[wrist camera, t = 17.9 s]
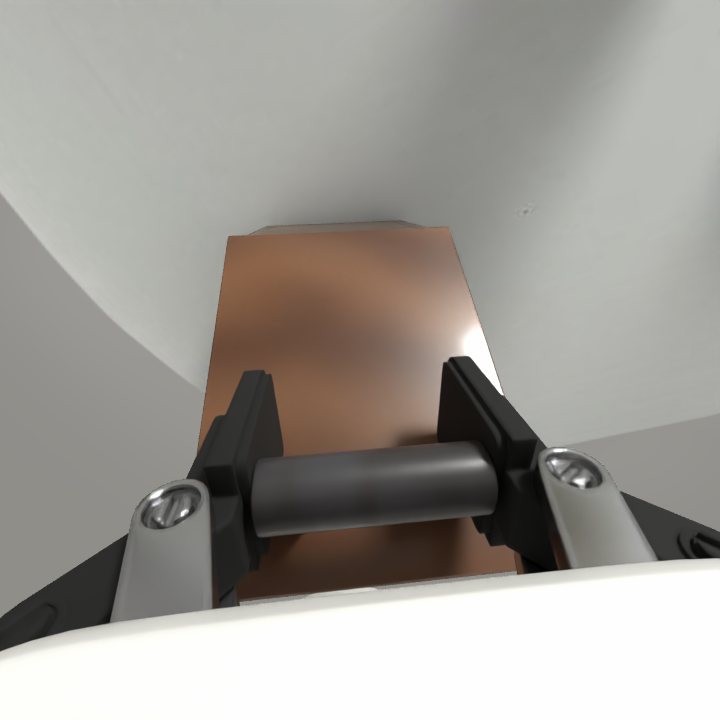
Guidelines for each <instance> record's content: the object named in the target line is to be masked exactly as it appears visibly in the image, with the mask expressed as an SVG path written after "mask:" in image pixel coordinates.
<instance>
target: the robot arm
mask: <svg viewBox="0 0 720 720" xmlns="http://www.w3.org/2000/svg"><path fill="white" fill-rule="evenodd" d="M437 439H438V442H439V443H447V442H459V441H471V440H476V441H479V442H481V443H482V444H483V445H484V446H485V447H486V449H487V451H488V452H489V454H490V457H491V459H492V462H493V465H494V468H495V472H496V477H497V483H498V503H497V507H496V510H495V511H494V512H493V513H492V514H490V515H483V516H473V517H471V519H472V521H473V523H474V525H475V528H476V530H477V532H478V533H480V534H483V533H484V534H485V536H486V539H487V541H488V543H489V545H490V547H493V546H502V545H506V546H507V547H508V548H510V549H512V550H514V560H515V565H516V571H517V575H513V576H504V577H494V578H485V579H475V580H467V581H457V582H449V583H439V584H430V585H421V586H412V587H403V588H394V589H385V590H376V591H367V592H358V593H349V594H340V595H331V596H323V597H314V598H306V599H297V600H288V601H280V602H271V603H263V604H254V605H246V606H240V605H239V593H238V584H237V583H238V582H239V581H240V580H241V579H242V578H243V577H244V576H246V575H247V574H248V572H254V571H259V566H260V560H261V556H267V555H268V553H269V549H270V542H271V537H263V538H260V537H257V536H256V534H255V532H254V529H253V525H252V520H251V511H250V490H251V480H252V475H253V470H254V467H255V464H256V462H257V461H258V460H259V459H261V458H271V457H283V455H284V446H283V439H282V433H281V427H280V421H279V415H278V409H277V403H276V396H275V390H274V384H273V378H272V375H271V374H265V371H264V369H263V370H248V371H244V372H243V374H242V377H241V379H240V381H239V384H238V386H237V388H236V391H235V393H234V395H233V398H232V400H231V403H230V405H229V407H228V410H227V412H226V414H225V415H218V416H216V417H215V418H214V420H213V422H212V424H211V426H210V428H209V431H208V433H207V435H206V437H205V439H204V441H203V443H202V446H201V448H200V450H199V452H198V454H197V456H196V458H195V461H194V463H193V465H192V467H191V470H190V471H189V473H188V476H187V478H186V479H182V480H176V481H172V482H170V483H167V484H165V485H162V486H160V487H159V488H157V489H155V490H153V491H152V492H151V493H150V494H148V495H147V496H146V497H145V498H144V499H143V500H142V501H141V502H140V503H139V505H138V506H137V507H136V509H135V511H134V514H133V516H132V520H131V524H130V529H129V533H128V534H126V535H125V536H123V537H122V538H120V539H119V540H117V541H115V542H114V543H112V544H111V545H109V546H108V547H106V548H105V549H103V550H102V551H100V552H98V553H97V554H95V555H94V556H92V557H91V558H89V559H88V560H86V561H85V562H83V563H81V564H80V565H78V566H77V567H75V568H74V569H72V570H71V571H69V572H67V573H66V574H64V575H63V576H61V577H60V578H58V579H57V580H55V581H53V582H52V583H50V584H49V585H47V586H46V587H44V588H43V589H41V590H39V591H38V592H36V593H35V594H33V595H32V596H30V597H29V598H27V599H26V600H24V601H22V602H21V603H19V604H18V605H17V606H15V607H14V608H13V609H11V610H10V611H9V612H7V613H6V614H5V615H3V616H2V617H1V618H0V720H720V532H718V531H716V530H714V529H712V528H709V527H707V526H704V525H702V524H699V523H697V522H695V521H692V520H689V519H687V518H685V517H682V516H680V515H677V514H675V513H672V512H670V511H667V510H665V509H663V508H660V507H658V506H655V505H653V504H650V503H648V502H646V501H643V500H641V499H638V498H636V497H633V496H631V495H629V494H626V493H624V492H621V491H619V489H618V487H617V485H616V484H615V482H614V480H613V478H612V477H611V475H610V473H609V472H608V470H607V469H606V468H605V467H604V465H602V464H601V463H600V462H599V461H597V460H596V459H595V458H593V457H591V456H589V455H587V454H586V453H583V452H581V451H578V450H575V449H571V448H566V447H552V448H547V447H546V446H545V445H544V443H543V442H542V441H541V440H540V439H539V437H538V436H537V435H536V434H535V433H534V431H533V430H532V429H531V428H530V427H529V425H528V424H527V423H526V422H525V421H524V419H523V418H522V417H521V416H520V415H519V413H518V412H517V411H516V410H515V409H514V407H513V406H512V405H511V404H510V403H509V401H508V400H507V399H506V398H505V397H504V396H503V395H501V394H500V392H499V391H498V390H497V389H496V387H495V386H494V385H493V384H492V383H491V381H490V380H489V379H488V378H487V377H486V375H485V374H484V373H483V372H482V371H481V369H480V368H479V367H478V366H477V364H476V363H475V362H474V361H473V360H472V358H471V357H470V356H456V357H450V358H449V360H448V362H444V363H443V367H442V378H441V389H440V400H439V412H438V423H437Z"/></svg>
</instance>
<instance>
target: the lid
mask: <svg viewBox="0 0 720 720" xmlns="http://www.w3.org/2000/svg"><path fill="white" fill-rule="evenodd" d="M456 356H470V357H471V358H472V360H473V361H474V362H475V363H476V364H477V366H478V367H479V368H480V369H481V371H482V372H483V373H484V374H485V375H486V377H487V378H488V379H489V380H490V381H491V383H492V384H493V385H494V386H495V387H496V389H497V390H498V391H499V392H500V394H501V395H503V396H504V393H503V390H502V387H501V384H500V381H499V378H498V375H497V372H496V369H495V366H494V363H493V360H492V357H491V354H490V351H489V347H488V344H487V341H486V338H485V335H484V332H483V329H482V326H481V323H480V320H479V317H478V314H477V311H476V308H475V305H474V302H473V299H472V296H471V293H470V290H469V287H468V284H467V281H466V278H465V275H464V272H463V269H462V266H461V263H460V260H459V257H458V254H457V251H456V248H455V245H454V242H453V239H452V236H451V233H450V230H449V227H431V228H407V229H384V230H360V231H337V232H313V233H290V234H266V235H243V236H229V237H228V242H227V248H226V255H225V262H224V269H223V276H222V283H221V290H220V297H219V304H218V311H217V318H216V325H215V331H214V338H213V345H212V352H211V359H210V366H209V373H208V380H207V387H206V394H205V401H204V408H203V414H202V421H201V429H200V435H199V442H198V449H197V454H198V452H199V450H200V448H201V446H202V443H203V441H204V439H205V437H206V435H207V433H208V431H209V428H210V426H211V424H212V422H213V420H214V418H215V417H216V416H218V415H225V414H226V412H227V410H228V407H229V405H230V403H231V400H232V398H233V395H234V393H235V391H236V388H237V386H238V384H239V381H240V379H241V377H242V374H243V372H244V371H248V370H263V369H264V371H265V374H271V375H272V378H273V384H274V390H275V396H276V403H277V409H278V415H279V421H280V427H281V433H282V439H283V446H284V455H283V457H271V458H261V459H259V460H258V461H257V462H256V464H255V467H254V470H253V475H252V480H251V490H250V511H251V520H252V525H253V529H254V532H255V534H256V536H257V537H260V538H263V537H271V542H270V549H269V553H268V555H267V556H261V560H260V566H259V571H254V572H248V574H247V575H246V576H244V577H243V578H242V579H241V580H240V581H239V582H238V583H237V584H238V593H239V602H243V601H252V600H260V599H269V598H279V597H288V596H297V595H306V594H315V593H324V592H333V591H342V590H351V589H359V588H368V587H377V586H386V585H395V584H404V583H413V582H422V581H431V580H440V579H448V578H457V577H467V576H476V575H485V574H494V573H503V572H511V571H516V565H515V560H514V550H512V549H510V548H508V547H507V546H506V545H502V546H493V547H490V545H489V543H488V541H487V539H486V536H485V534H484V533H483V534H480V533H478V532H477V530H476V528H475V525H474V523H473V521H472V519H471V517H473V516H483V515H490V514H492V513H493V512H494V511H495V510H496V507H497V503H498V483H497V477H496V472H495V468H494V465H493V462H492V459H491V457H490V454H489V452H488V451H487V449H486V447H485V446H484V445H483V444H482V443H481V442H479V441H476V440H471V441H459V442H447V443H439V442H438V439H437V423H438V412H439V400H440V389H441V378H442V367H443V363H444V362H448V360H449V358H450V357H456ZM504 397H505V396H504Z"/></svg>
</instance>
